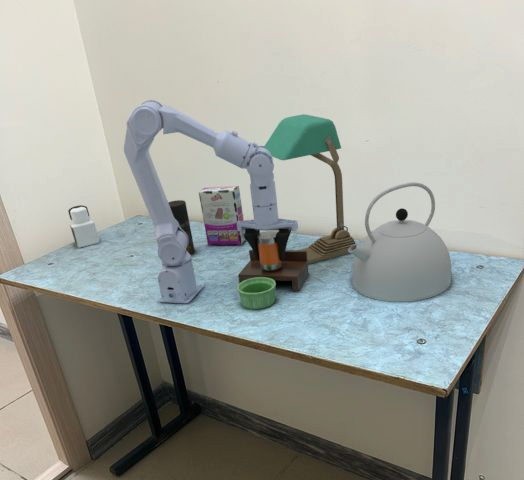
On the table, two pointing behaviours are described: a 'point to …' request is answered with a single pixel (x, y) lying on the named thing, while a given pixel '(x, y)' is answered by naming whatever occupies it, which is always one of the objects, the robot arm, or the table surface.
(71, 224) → the white handled box
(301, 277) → the shelf
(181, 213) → the deodorant
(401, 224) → the kettle
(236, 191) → the candy bar box
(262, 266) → the tin can
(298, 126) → the banker's lamp
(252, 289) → the ramekin
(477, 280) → the table surface
